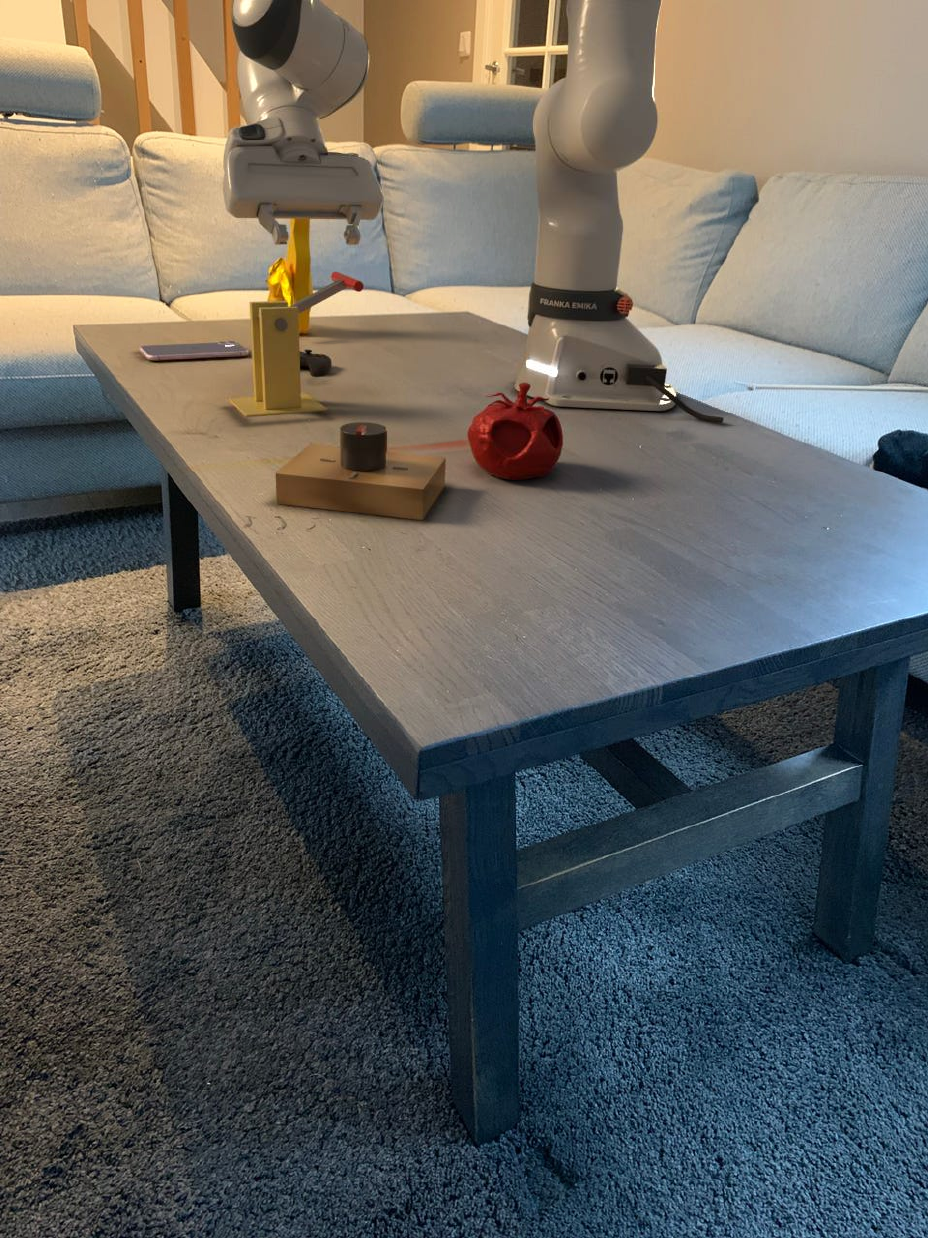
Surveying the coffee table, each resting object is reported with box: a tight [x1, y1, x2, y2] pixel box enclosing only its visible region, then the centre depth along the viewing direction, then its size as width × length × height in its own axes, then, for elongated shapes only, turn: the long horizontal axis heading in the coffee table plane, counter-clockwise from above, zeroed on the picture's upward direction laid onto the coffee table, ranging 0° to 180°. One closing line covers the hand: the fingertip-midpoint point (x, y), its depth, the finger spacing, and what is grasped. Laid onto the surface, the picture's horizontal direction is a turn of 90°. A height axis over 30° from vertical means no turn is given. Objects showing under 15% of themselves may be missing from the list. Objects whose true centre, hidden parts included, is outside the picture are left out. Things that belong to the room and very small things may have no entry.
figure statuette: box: [265, 219, 314, 334], centre depth 159 cm, size 18×8×22 cm, turn 23°
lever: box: [257, 271, 365, 321], centre depth 114 cm, size 12×8×2 cm, turn 116°
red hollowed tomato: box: [467, 383, 564, 481], centre depth 100 cm, size 10×10×9 cm
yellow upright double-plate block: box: [228, 300, 328, 418], centre depth 115 cm, size 10×8×13 cm
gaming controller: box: [300, 349, 333, 378], centre depth 136 cm, size 10×5×6 cm
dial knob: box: [339, 421, 388, 471], centre depth 91 cm, size 4×4×4 cm
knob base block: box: [275, 442, 447, 521], centre depth 93 cm, size 14×10×3 cm
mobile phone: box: [139, 340, 250, 362], centre depth 144 cm, size 8×1×15 cm
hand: (318, 241), depth 120 cm, fingers open, 8 cm apart
